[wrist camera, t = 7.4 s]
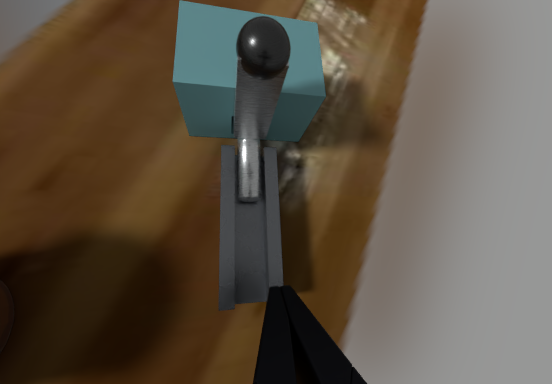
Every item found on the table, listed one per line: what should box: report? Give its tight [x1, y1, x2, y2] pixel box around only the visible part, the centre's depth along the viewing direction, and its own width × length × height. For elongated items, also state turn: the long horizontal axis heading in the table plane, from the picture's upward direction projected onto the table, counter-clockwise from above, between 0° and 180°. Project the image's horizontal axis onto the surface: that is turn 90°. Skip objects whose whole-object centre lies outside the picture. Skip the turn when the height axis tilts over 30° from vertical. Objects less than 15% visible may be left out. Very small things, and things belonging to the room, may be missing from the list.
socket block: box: [173, 1, 326, 142], centre depth 23 cm, size 8×12×8 cm, turn 93°
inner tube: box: [234, 16, 291, 202], centre depth 18 cm, size 12×3×13 cm, turn 3°
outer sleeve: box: [219, 145, 283, 311], centre depth 22 cm, size 14×5×3 cm, turn 3°
